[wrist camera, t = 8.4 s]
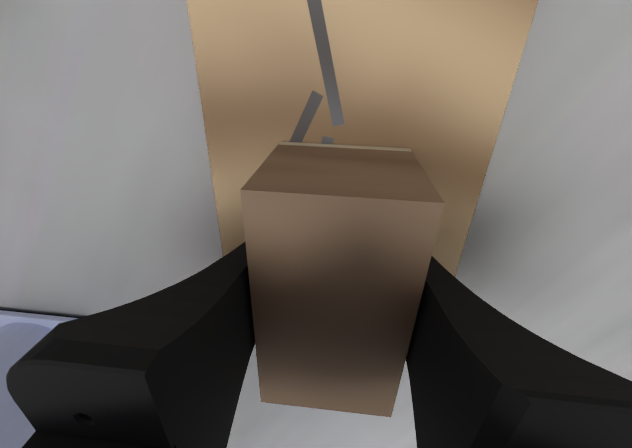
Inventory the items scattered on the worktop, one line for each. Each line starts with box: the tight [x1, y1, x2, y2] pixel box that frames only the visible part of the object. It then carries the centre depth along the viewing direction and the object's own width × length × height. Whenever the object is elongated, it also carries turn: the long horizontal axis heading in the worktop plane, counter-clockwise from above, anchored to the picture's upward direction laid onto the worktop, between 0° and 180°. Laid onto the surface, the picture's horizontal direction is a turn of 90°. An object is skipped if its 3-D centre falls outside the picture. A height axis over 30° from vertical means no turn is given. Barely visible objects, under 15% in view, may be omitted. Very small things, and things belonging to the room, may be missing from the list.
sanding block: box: [240, 142, 445, 417], centre depth 11 cm, size 8×4×4 cm, turn 178°
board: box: [187, 0, 538, 277], centre depth 11 cm, size 16×10×1 cm, turn 179°
